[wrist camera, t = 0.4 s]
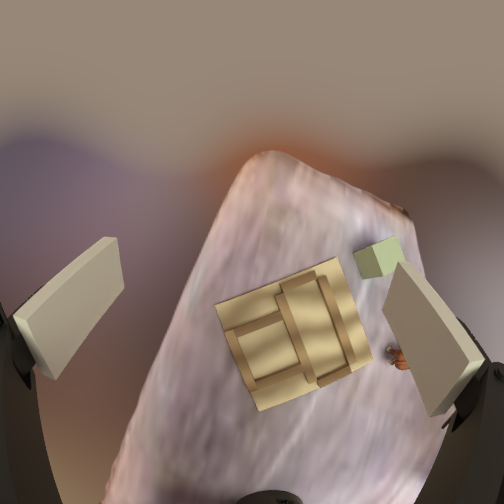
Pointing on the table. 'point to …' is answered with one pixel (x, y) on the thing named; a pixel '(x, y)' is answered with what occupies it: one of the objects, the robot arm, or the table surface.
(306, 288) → the beech board
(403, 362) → the bull figurine
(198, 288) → the table surface
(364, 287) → the table surface
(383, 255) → the sage-green tail block
